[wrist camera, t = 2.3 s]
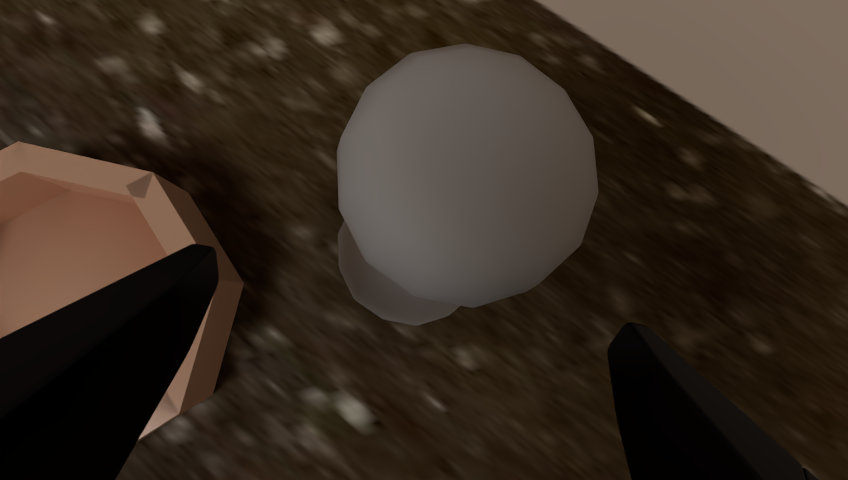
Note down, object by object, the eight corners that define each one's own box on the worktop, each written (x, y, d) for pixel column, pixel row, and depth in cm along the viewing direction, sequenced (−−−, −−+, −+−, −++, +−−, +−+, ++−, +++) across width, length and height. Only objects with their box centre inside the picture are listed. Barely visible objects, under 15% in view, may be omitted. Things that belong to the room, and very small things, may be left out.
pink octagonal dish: (19, 518, 16) (-64, 569, 13) (-120, 268, 16) (-230, 260, 13) (284, 348, 18) (266, 357, 15) (151, 131, 18) (107, 98, 15)
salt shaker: (441, 342, 18) (599, 436, 6) (320, 290, 18) (190, 263, 5) (489, 222, 19) (713, 69, 7) (375, 171, 19) (379, -92, 6)
